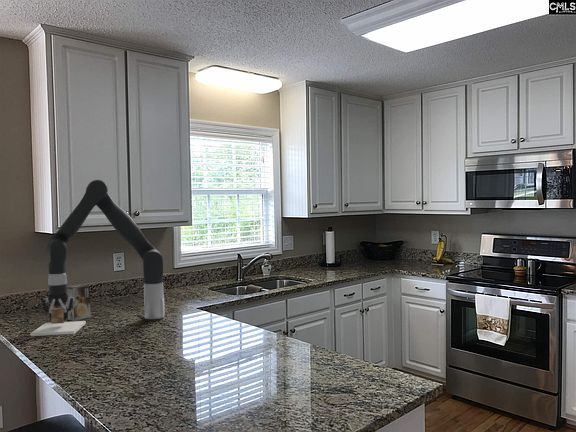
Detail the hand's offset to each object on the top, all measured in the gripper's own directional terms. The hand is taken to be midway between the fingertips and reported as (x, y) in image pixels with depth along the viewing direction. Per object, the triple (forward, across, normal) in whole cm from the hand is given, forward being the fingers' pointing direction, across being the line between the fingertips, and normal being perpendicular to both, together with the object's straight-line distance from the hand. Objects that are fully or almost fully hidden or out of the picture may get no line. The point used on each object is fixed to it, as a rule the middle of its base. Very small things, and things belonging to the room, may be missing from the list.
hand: (59, 320), depth 217 cm
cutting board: (+4, 0, 0) cm, 4 cm away
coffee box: (+4, -3, -20) cm, 21 cm away
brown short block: (+1, 0, 0) cm, 1 cm away
